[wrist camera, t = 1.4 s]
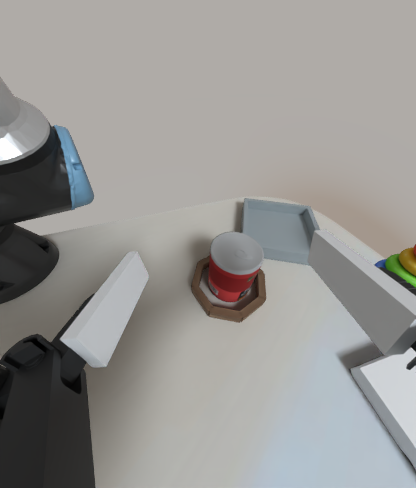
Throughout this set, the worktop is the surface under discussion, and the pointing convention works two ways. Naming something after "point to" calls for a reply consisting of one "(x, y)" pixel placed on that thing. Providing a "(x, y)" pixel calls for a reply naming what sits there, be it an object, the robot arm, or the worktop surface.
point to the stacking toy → (402, 265)
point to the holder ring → (223, 312)
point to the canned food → (233, 265)
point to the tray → (280, 229)
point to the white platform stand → (392, 396)
